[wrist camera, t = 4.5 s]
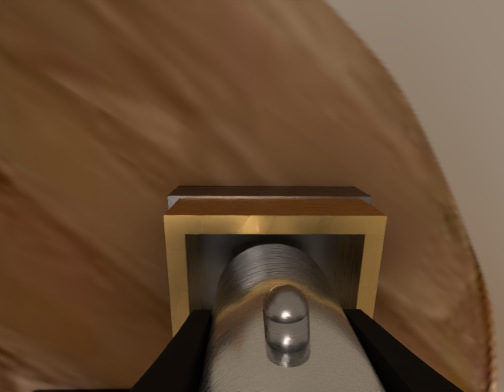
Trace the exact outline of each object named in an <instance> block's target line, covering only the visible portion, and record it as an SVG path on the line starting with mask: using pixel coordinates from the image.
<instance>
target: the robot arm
mask: <svg viewBox="0 0 504 392" xmlns="http://www.w3.org/2000/svg"><path fill="white" fill-rule="evenodd" d="M343 311H344V313H345V315H346V317H347V319H348V321H349V323H350V325H351V326H352V328H353V330H354V332H355V334H356V336H357V338H358V340H359V342H360V343H361V345H362V347H363V349H364V351H365V353H366V355H367V357H368V358H369V360H370V362H371V364H372V366H373V368H374V370H375V372H376V373H377V375H378V377H379V379H380V381H381V383H382V385H383V387H384V388H385V390H386V392H463V391H462V390H461V389H459V388H458V387H456V386H455V385H454V384H452V383H451V382H450V381H448V380H447V379H446V378H444V377H443V376H442V375H440V374H439V373H438V372H436V371H435V370H434V369H432V368H431V367H430V366H428V365H427V364H426V363H425V362H423V361H422V360H421V359H420V358H418V357H417V356H416V355H415V354H413V353H412V352H411V351H410V350H408V349H407V348H406V347H405V346H404V345H402V344H401V343H400V342H399V341H398V340H396V339H395V338H394V337H393V336H392V335H390V334H389V333H388V332H387V331H386V330H385V329H383V328H382V327H381V326H380V325H379V324H378V323H376V322H375V321H374V320H373V319H372V318H371V317H369V316H368V315H367V314H366V313H365V312H363V311H362V310H361V309H343ZM211 318H212V315H211V310H193V311H192V312H191V313H190V314H189V316H188V317H187V319H186V320H185V322H184V323H183V325H182V326H181V328H180V329H179V331H178V332H177V333H176V335H175V336H174V337H173V339H172V340H171V341H170V343H169V344H168V345H167V347H166V348H165V349H164V350H163V352H162V353H161V354H160V356H159V357H158V358H157V359H156V361H155V362H154V363H153V364H152V365H151V367H150V368H149V369H148V370H147V371H146V372H145V374H144V375H143V376H142V377H141V378H140V379H139V381H138V382H137V383H136V384H135V385H134V386H133V387H132V388H131V390H130V391H129V392H198V390H199V384H200V379H201V373H202V368H203V362H204V357H205V351H206V346H207V340H208V335H209V329H210V324H211Z"/></svg>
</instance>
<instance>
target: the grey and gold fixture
mask: <svg viewBox="0 0 504 392" xmlns="http://www.w3.org/2000/svg"><path fill="white" fill-rule="evenodd" d="M168 208H169V210H168V211H167V212H166V213H165V214H164V227H165V240H166V253H167V266H168V280H169V293H170V306H171V319H172V332H173V337H174V336H175V335H176V333H177V332H178V331H179V329H180V328H181V326H182V325H183V323H184V322H185V320H186V319H187V317H188V316H189V314H190V313H191V312H192V311H193V310H211V315H212V313H213V308H214V302H215V297H216V291H217V286H218V282H219V279H220V276H221V274H222V272H223V271H224V269H225V267H226V266H227V265H228V264H229V262H230V261H231V260H233V259H234V258H235V257H236V256H237V255H239V254H240V253H242V252H244V251H245V250H247V249H250V248H252V247H255V246H259V245H264V244H283V245H288V246H292V247H294V248H297V249H299V250H301V251H303V252H305V253H306V254H308V255H309V256H310V257H311V258H312V259H313V260H315V262H316V263H317V264H318V265H319V267H320V269H321V270H322V272H323V274H324V276H325V278H326V279H327V281H328V283H329V285H330V287H331V289H332V291H333V293H334V295H335V296H336V298H337V300H338V302H339V304H340V306H341V308H342V310H343V309H361V310H362V311H363V312H365V313H366V314H367V315H368V316H369V317H371V318H372V319H373V313H374V306H375V299H376V292H377V285H378V278H379V270H380V263H381V256H382V249H383V242H384V235H385V228H386V221H387V215H385V214H384V213H382V212H380V211H379V210H377V209H376V208H374V207H373V206H371V196H370V195H368V194H366V193H364V192H363V191H361V190H359V189H357V188H356V187H299V186H178V187H177V188H176V189H175V190H174V191H172V192H171V193H170V194H169V195H168Z"/></svg>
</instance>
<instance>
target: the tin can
mask: <svg viewBox="0 0 504 392" xmlns="http://www.w3.org/2000/svg"><path fill="white" fill-rule="evenodd" d="M198 392H386V390H385V388H384V387H383V385H382V383H381V381H380V379H379V377H378V375H377V373H376V372H375V370H374V368H373V366H372V364H371V362H370V360H369V358H368V357H367V355H366V353H365V351H364V349H363V347H362V345H361V343H360V342H359V340H358V338H357V336H356V334H355V332H354V330H353V328H352V326H351V325H350V323H349V321H348V319H347V317H346V315H345V313H344V311H343V310H342V308H341V306H340V304H339V302H338V300H337V298H336V296H335V295H334V293H333V291H332V289H331V287H330V285H329V283H328V281H327V279H326V278H325V276H324V274H323V272H322V270H321V269H320V267H319V265H318V264H317V263H316V262H315V260H313V259H312V258H311V257H310V256H309V255H308V254H306V253H305V252H303V251H301V250H299V249H297V248H294V247H292V246H288V245H283V244H264V245H259V246H255V247H252V248H250V249H247V250H245V251H244V252H242V253H240V254H239V255H237V256H236V257H235V258H234V259H233V260H231V261H230V262H229V264H228V265H227V266H226V267H225V269H224V271H223V272H222V274H221V276H220V279H219V282H218V286H217V291H216V297H215V302H214V308H213V313H212V318H211V324H210V329H209V335H208V340H207V346H206V351H205V357H204V362H203V368H202V373H201V379H200V384H199V390H198Z"/></svg>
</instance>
